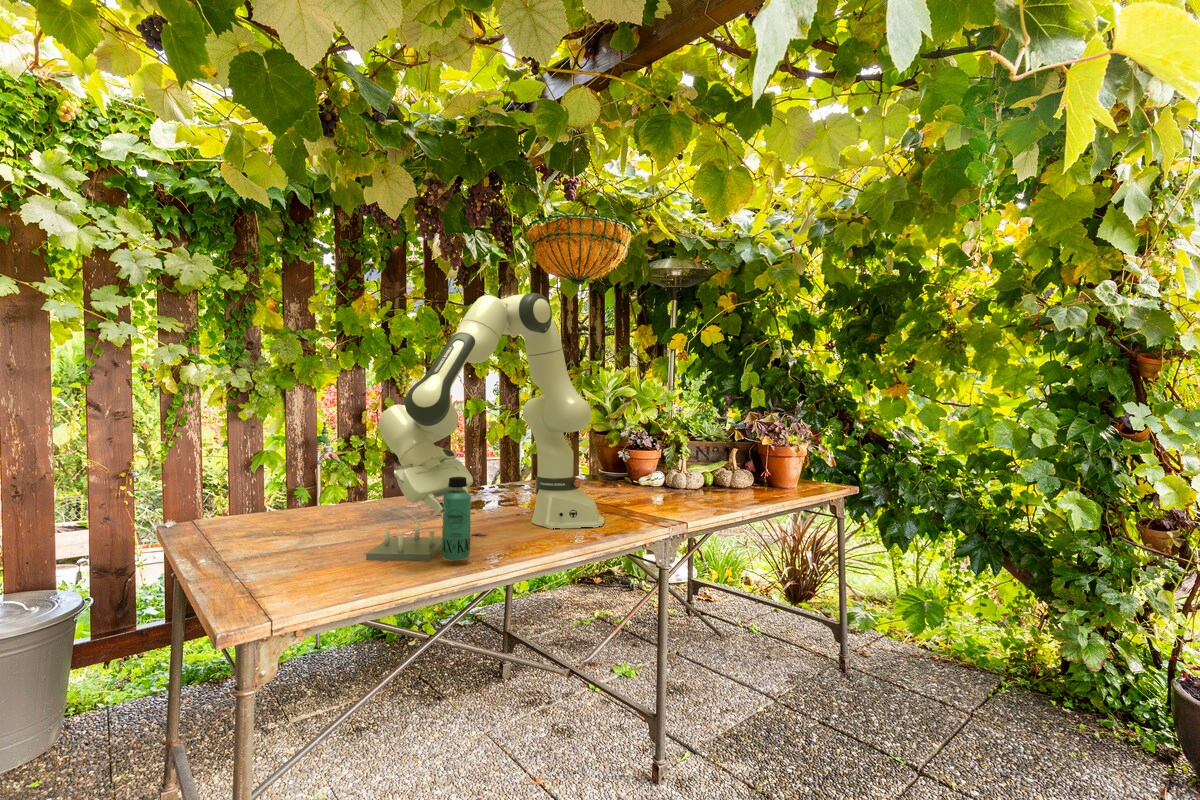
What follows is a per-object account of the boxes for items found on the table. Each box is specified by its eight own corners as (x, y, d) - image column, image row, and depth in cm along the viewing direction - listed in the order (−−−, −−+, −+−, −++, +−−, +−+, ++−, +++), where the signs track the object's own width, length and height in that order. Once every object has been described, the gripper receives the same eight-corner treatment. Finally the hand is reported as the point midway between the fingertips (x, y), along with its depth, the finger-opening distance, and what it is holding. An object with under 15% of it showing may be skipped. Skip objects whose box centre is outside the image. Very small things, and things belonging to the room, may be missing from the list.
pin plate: (448, 543, 145) (448, 524, 144) (429, 560, 130) (429, 539, 129) (390, 542, 145) (391, 523, 145) (366, 559, 130) (366, 538, 130)
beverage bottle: (439, 560, 130) (440, 475, 130) (467, 557, 133) (468, 474, 133) (443, 568, 124) (444, 479, 124) (473, 565, 127) (474, 478, 127)
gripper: (398, 458, 121) (432, 507, 117) (458, 450, 140) (489, 492, 136) (382, 476, 123) (415, 525, 119) (444, 466, 142) (474, 508, 138)
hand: (455, 507), depth 128 cm, fingers open, 8 cm apart
